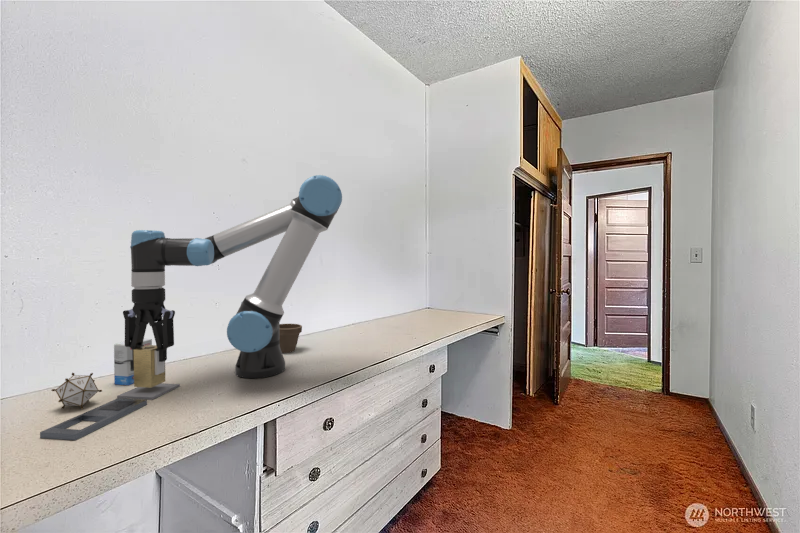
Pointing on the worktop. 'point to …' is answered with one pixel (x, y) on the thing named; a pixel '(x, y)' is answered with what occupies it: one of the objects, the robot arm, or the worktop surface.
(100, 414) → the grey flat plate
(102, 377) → the worktop surface
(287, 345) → the flower pot
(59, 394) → the game die
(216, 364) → the worktop surface
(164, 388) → the pad
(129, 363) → the ink box
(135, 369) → the brass block with hole
